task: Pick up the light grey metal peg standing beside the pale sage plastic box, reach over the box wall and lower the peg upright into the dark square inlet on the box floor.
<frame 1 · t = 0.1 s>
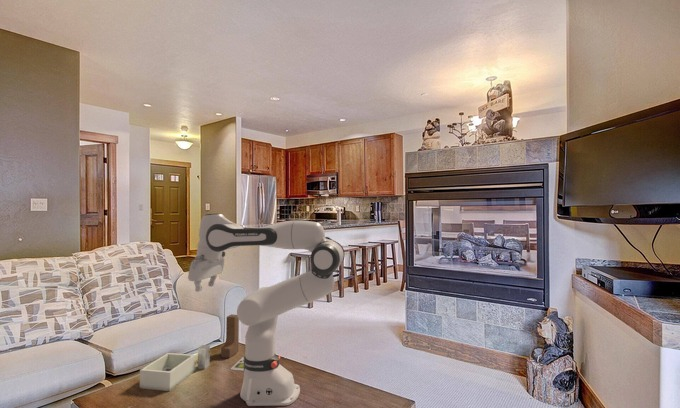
hand: (204, 288, 138), 39 cm above the table, tool pointing down, fingers open, 8 cm apart
metal peg: (203, 367, 156), on the table
walled box: (168, 379, 144), on the table
handheld gaming device: (246, 364, 160), on the table
wooden block: (229, 354, 170), on the table
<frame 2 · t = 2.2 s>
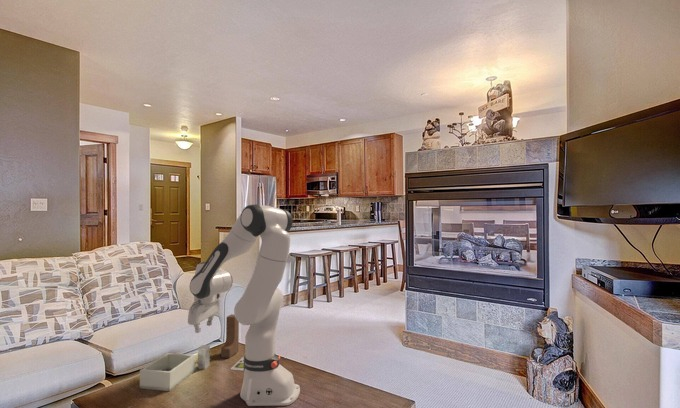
hand: (203, 328, 156), 17 cm above the table, tool pointing down, fingers open, 8 cm apart
nothing on the table moved.
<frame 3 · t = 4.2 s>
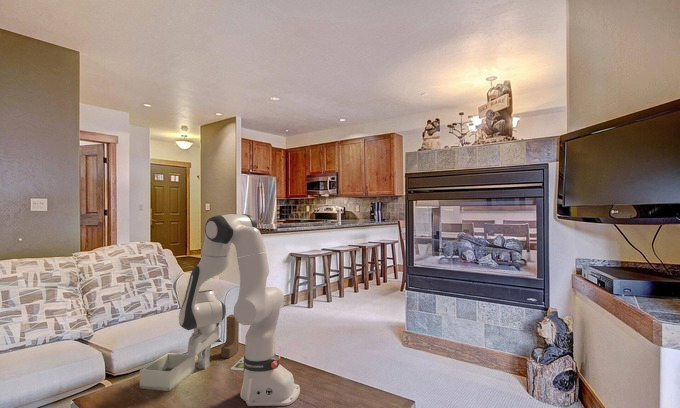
hand: (203, 357, 156), 4 cm above the table, tool pointing down, fingers closed on metal peg, 3 cm apart
metal peg: (203, 367, 156), on the table, touching gripper
everything else where it was.
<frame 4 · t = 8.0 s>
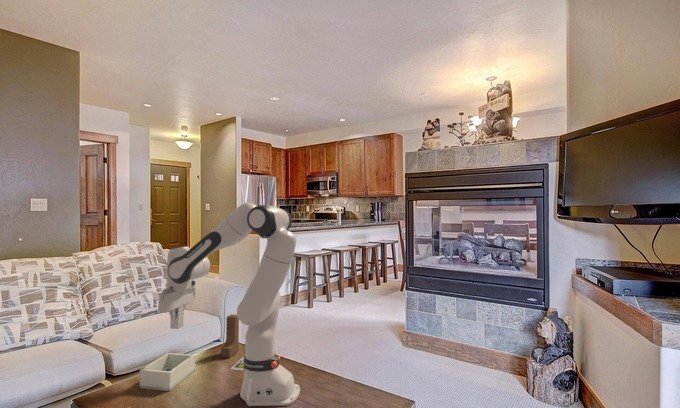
hand: (177, 317, 147), 25 cm above the table, tool pointing down, fingers closed on metal peg, 3 cm apart
metal peg: (176, 327, 147), point 20 cm above the table, touching gripper
everything else where it was.
when the fingers open (6 cm above the table, at t = 11.5 s): metal peg stays where it is, resting on walled box.
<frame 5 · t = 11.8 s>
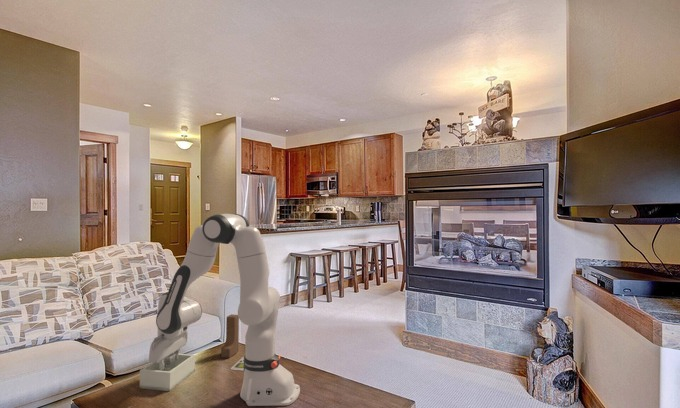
hand: (168, 364, 144), 6 cm above the table, tool pointing down, fingers open, 7 cm apart
metal peg: (168, 376, 144), point 1 cm above the table, touching walled box
everything else where it was.
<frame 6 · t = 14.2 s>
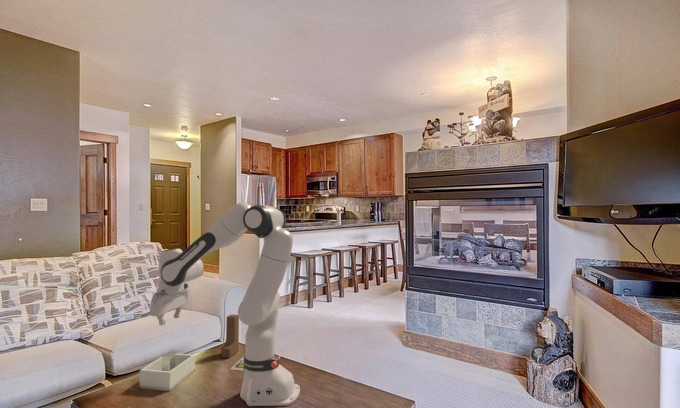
hand: (169, 321, 145), 24 cm above the table, tool pointing down, fingers open, 8 cm apart
nothing on the table moved.
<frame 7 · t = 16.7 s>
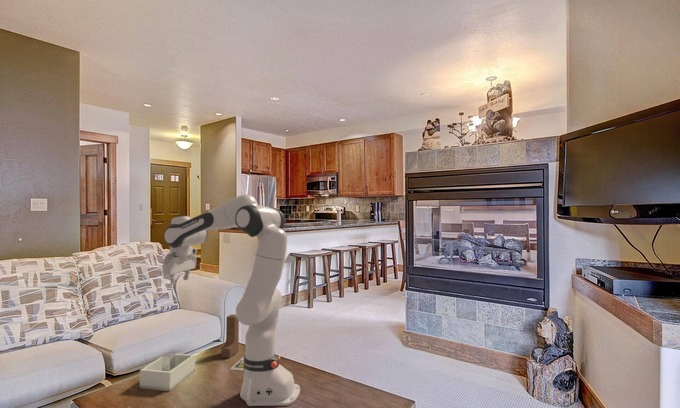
hand: (179, 281, 159), 37 cm above the table, tool pointing down, fingers open, 8 cm apart
nothing on the table moved.
at the end: metal peg 0.1 cm off-centre on the walled box, point 1.0 cm above the walled box's base; metal peg tilted 0°; the gripper is holding nothing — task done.
